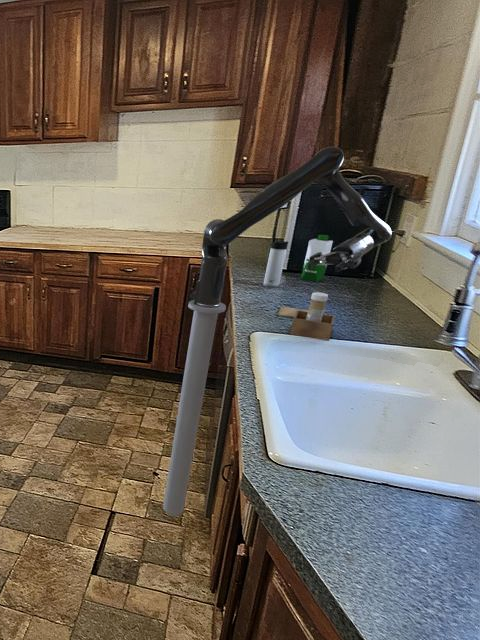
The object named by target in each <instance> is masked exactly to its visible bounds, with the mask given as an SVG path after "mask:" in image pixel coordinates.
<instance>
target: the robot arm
mask: <svg viewBox="0 0 480 640" xmlns="http://www.w3.org/2000/svg"><path fill="white" fill-rule="evenodd" d="M344 160H345V153H344V151H343V150H342V149H341V148H340V147H337V146H327V147H324V148H321V149H320V150H319V151H318V152H317V153H316V154H315V155H313V156H312V157H311V158H310V159H309V160H307V161H305V163H303V164H302V165H301V166H299V167H298V168H296V169H295V170H293V171H291V172H289V173H288V174H286V175H284V176H282V177H281V178H279V179H277V180H275V181H273V182H272V183H271V184H269V185H268V186H266V187H264V188H263V189H262V190H260V191H259V192H257V193H256V194H255V195H254V196H253V197H252V198H251V199H250V200H249V201H248V202H247V203H246V205H244V207H243V208H242V209H241V210H240V211H238V212H236V213H234V214H233V215H232V216H230V217H228V218H226V219H221V218H217V219H216V218H215V219H212V220H211V221H209V222H208V223H207V225H206V226H205V228H204V233H203V236H202V244H201V264H200V269H199V277H198V280H197V281H196V285H195V290H194V291H193V292H192V293H191V294H190V295H189V299H190V301H193V300H194V304H195V305H198V306H202V307H208V308H215V307H219V306H220V303H221V299H222V298H221V297H222V296H223V288H224V282H225V276H226V275H225V274H226V271H227V264H228V258H229V257H228V253H227V245H229V244H230V243H232V242H233V241H235V239H237V238H238V237H239V236H241V235H242V234H243V233H244V232H245V231H247V230H248V229H249V228H251V227H252V226H254V225H256V224H257V223H259V222H261V221H262V220H264V219H265V218H267V217H268V216H270V215H271V214H273V213H275V212H277V211H278V210H280V209H281V208H283V207H284V206H286V205H287V204H288V203H290V202H291V201H292V200H294V198H296V197H297V196H298V195H300V194H301V193H302V192H303V191H304V190H306V189H307V188H308V187H309V186H311V185H313V184H314V183H316V182H317V181H318V182H319V183H320V184H321V185H322V186H323V187H324V188H325V189H326V190H327V192H328V193H329V194H330V195H331V196H332V198H333V199H334V200H335V202H336V203H337V205H338V206H339V208H340V209H341V211H342V212H343V214H344V216H345V217H346V218H347V220H348V222H349V223H350V224H351V226H353V227H358V226H362V225H366V226H368V227H367V228H366V229H364V230H362V231H360V232H359V233H357V234H355V235H354V236H353V237H351V238H349V239H346V240H344V241H343V242H342V243H340V244H337V245H336V246H335V247H333V248H332V249H331V251H330V253H328V254H325V255H322V252H318V253H316V254H315V255H313V256H311V257H310V259H309V263H308V267H309V269H312V268H314V267H315V266H317V265H322V266H324V265H327V266H329V265H331V266H332V265H335V266H334V273H339V272H342V271H343V270H346V269H348V268H349V269H350V270H353V269H355V268H357V267H358V266H359V265H360V264H361V263H362V258H363V256H364V255H365V254H367V253H369V252H370V251H371V250H372V249H374V248H376V247H378V246H380V245H382V244H384V243H386V242H388V241H389V240H391V239H392V236H393V232H392V229H391V227H390V225H389V224H387V223H386V222H385V221H383V220H382V219H381V218H380V217H379V216H378V215H376V213H374V212H373V211H372V209H371V208H370V206H369V205H368V203H367V201H366V200H365V198H363V196H362V195H361V194H360V193H359V192H358V191H356V189H354V188H353V187H352V186H351V185H350V184H349V183H348V182H347V181H346V180H345V178H344V177H343V175H342V173H341V171H340V168H341V166H342V165H343V163H344ZM324 259H325V260H326V262H325V263H324ZM318 261H320V262H319V263H318Z"/></svg>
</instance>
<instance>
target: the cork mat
mask: <svg viewBox="0 0 480 640" xmlns="http://www.w3.org/2000/svg"><path fill="white" fill-rule="evenodd" d="M297 310H299V311H306V312H308V310H309V309H302V308H296V307H289V306H280V308H279V310H278V312H277V314H276V316H279V317H286V318H292V319H294V317H295V314H296V312H297Z"/></svg>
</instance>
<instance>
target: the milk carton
mask: <svg viewBox="0 0 480 640" xmlns="http://www.w3.org/2000/svg"><path fill="white" fill-rule="evenodd" d="M329 236H330V235H327V234H318V237H317V238H312V239H310V240H309V241H308V246H307V250H306V253H305V259H304V261H303V262H304V263H303V267H302V273H301V277H300V280H304V281H310V282H316V283H318V282H321V281H322V280H323V279H324V276H325V274H326V270H327V266H328V265H324V266H322V265H317V266H315V267H314V268H312V269H309V267H308V263H309V259H310V257H311V256H313V255H315V254H316V253H318V252H322V255H325V254H328V253H331V251H332V246H333V243H334V241H333V240H330V239H329V238H330V237H329ZM319 262H320V261H318V263H319ZM325 262H326V260H325V259H324V263H325Z"/></svg>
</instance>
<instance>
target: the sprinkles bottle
mask: <svg viewBox="0 0 480 640" xmlns="http://www.w3.org/2000/svg"><path fill="white" fill-rule="evenodd" d="M328 298H329V294H327V293H325V292H319V291H318V292H315V291H314V292H312V293H311V297H310V303H309V306H308V309H307V310H308V314H307V318H306V320H309V321H316V322H321V320H322V316H323V314H324V312H325V308H326V303H327V301H328Z"/></svg>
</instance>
